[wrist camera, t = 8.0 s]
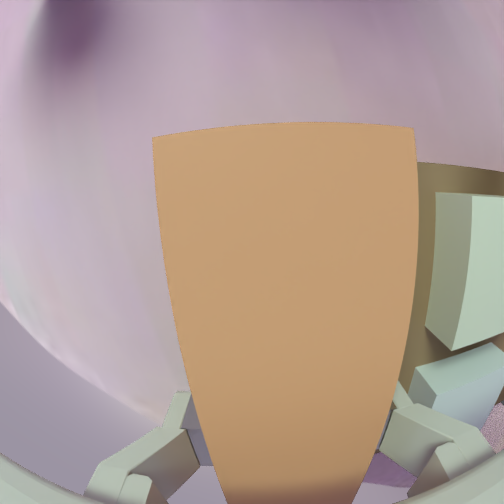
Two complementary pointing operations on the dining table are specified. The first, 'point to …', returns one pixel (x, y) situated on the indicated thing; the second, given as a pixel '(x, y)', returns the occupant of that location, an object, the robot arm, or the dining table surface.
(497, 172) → the brown wooden square board
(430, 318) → the tile
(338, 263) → the two-tone eraser block
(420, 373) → the tile
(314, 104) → the dining table surface
